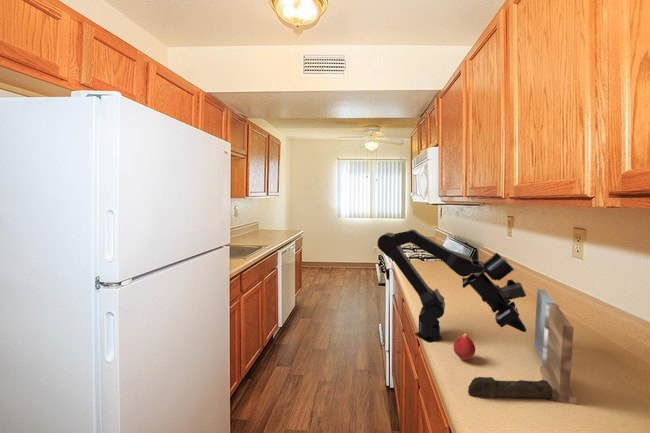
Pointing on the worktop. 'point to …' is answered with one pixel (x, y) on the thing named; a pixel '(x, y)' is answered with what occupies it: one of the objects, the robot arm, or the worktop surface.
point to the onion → (464, 347)
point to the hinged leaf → (541, 321)
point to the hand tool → (509, 388)
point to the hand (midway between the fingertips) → (524, 329)
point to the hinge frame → (558, 354)
